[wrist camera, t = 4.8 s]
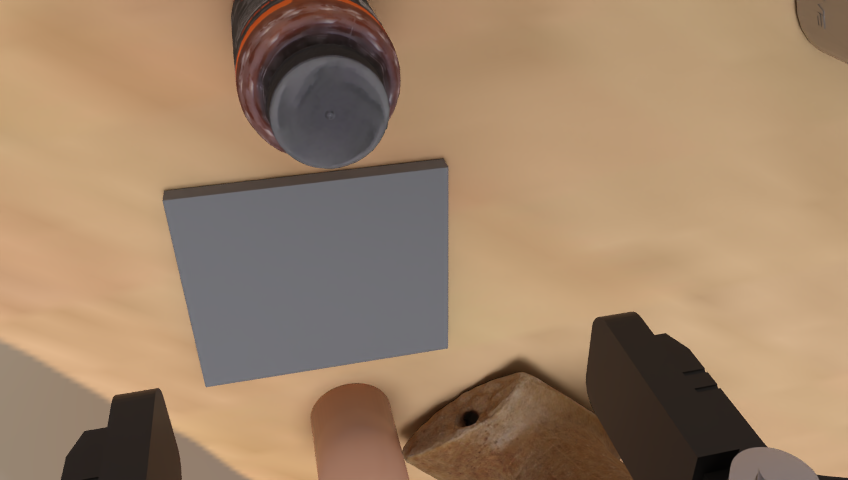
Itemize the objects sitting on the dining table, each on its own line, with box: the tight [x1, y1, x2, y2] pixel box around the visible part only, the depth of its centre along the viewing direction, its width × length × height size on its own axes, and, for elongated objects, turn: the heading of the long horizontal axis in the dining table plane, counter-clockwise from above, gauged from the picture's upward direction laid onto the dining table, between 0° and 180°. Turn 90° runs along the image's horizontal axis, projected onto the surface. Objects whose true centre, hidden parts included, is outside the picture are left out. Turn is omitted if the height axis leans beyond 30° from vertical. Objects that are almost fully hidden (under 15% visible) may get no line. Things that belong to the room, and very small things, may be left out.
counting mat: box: [163, 159, 448, 387], centre depth 41 cm, size 14×12×1 cm
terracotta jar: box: [311, 383, 409, 480], centre depth 45 cm, size 5×5×7 cm
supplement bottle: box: [231, 0, 400, 169], centre depth 29 cm, size 6×6×11 cm
